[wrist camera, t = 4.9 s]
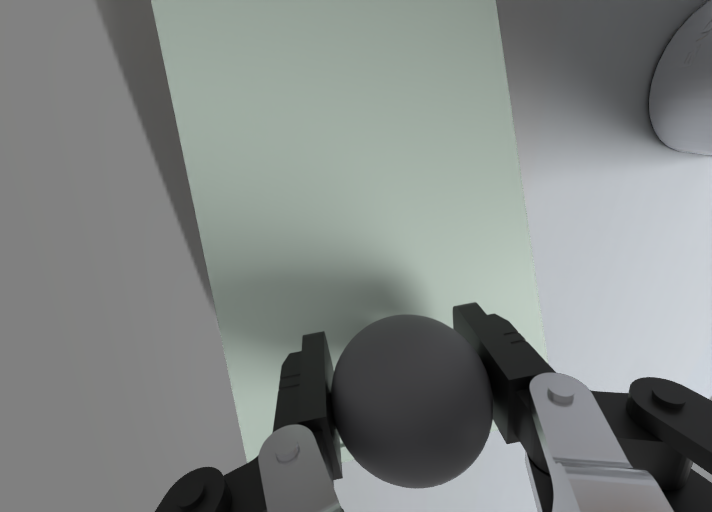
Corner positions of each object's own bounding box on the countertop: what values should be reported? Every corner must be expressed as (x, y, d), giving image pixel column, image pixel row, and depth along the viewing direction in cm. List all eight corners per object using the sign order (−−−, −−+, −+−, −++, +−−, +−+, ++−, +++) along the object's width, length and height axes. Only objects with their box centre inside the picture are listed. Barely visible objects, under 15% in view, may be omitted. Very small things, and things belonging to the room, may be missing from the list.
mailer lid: (183, 26, 15) (-39, -279, 6) (456, -15, 16) (614, -350, 7) (266, 434, 16) (181, 672, 7) (516, 383, 17) (718, 549, 8)
